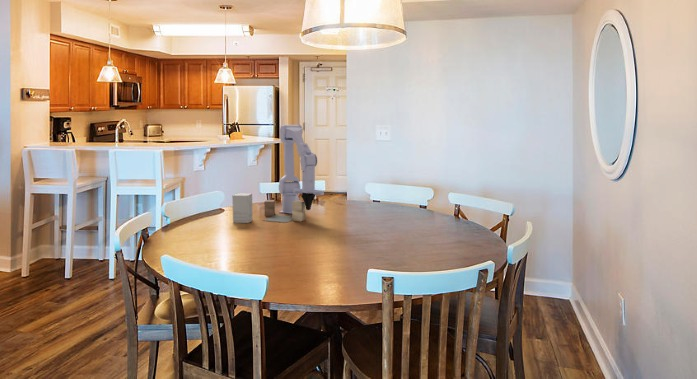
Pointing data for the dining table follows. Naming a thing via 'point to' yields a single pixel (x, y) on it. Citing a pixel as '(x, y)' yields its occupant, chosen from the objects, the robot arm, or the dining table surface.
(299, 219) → the maple block
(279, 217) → the felt mat
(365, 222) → the dining table surface
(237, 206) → the supplement box
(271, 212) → the walnut block
